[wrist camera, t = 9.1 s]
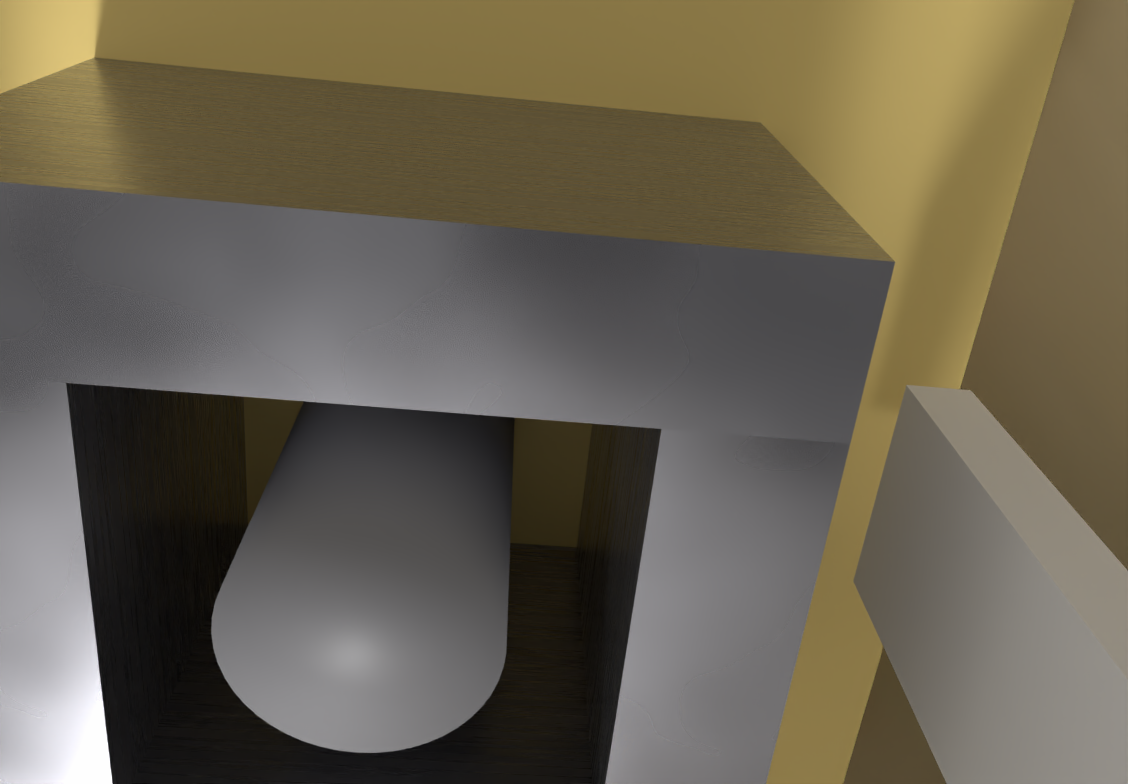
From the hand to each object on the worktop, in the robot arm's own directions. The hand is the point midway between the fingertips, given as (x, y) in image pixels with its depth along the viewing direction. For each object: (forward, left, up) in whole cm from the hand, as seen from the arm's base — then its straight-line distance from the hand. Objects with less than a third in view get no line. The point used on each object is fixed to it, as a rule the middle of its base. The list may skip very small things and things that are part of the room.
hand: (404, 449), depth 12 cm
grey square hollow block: (0, 0, -2) cm, 2 cm away
